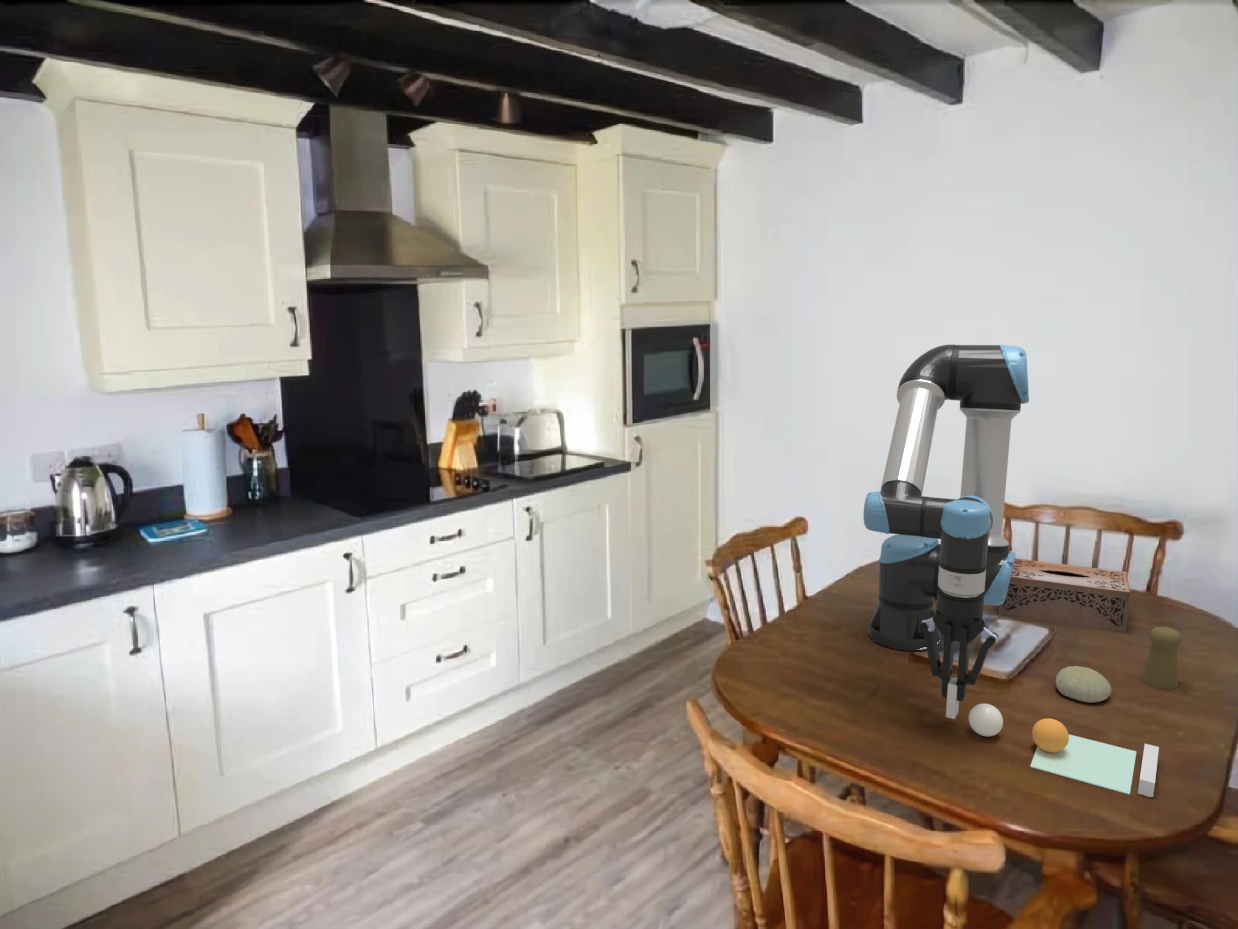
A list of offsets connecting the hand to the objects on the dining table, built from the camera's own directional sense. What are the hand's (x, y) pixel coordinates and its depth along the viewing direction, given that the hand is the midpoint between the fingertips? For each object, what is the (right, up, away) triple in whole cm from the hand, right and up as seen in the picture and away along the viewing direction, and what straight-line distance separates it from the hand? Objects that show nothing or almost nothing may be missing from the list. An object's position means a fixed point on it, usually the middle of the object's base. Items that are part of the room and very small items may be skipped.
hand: (952, 714), depth 150 cm
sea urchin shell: (+29, +1, +10) cm, 31 cm away
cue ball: (+4, 0, -4) cm, 6 cm away
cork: (+46, +2, +14) cm, 48 cm away
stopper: (+25, -5, -16) cm, 30 cm away
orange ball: (+13, -1, -9) cm, 16 cm away
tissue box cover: (+45, +9, +48) cm, 67 cm away
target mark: (+17, -4, -11) cm, 21 cm away
